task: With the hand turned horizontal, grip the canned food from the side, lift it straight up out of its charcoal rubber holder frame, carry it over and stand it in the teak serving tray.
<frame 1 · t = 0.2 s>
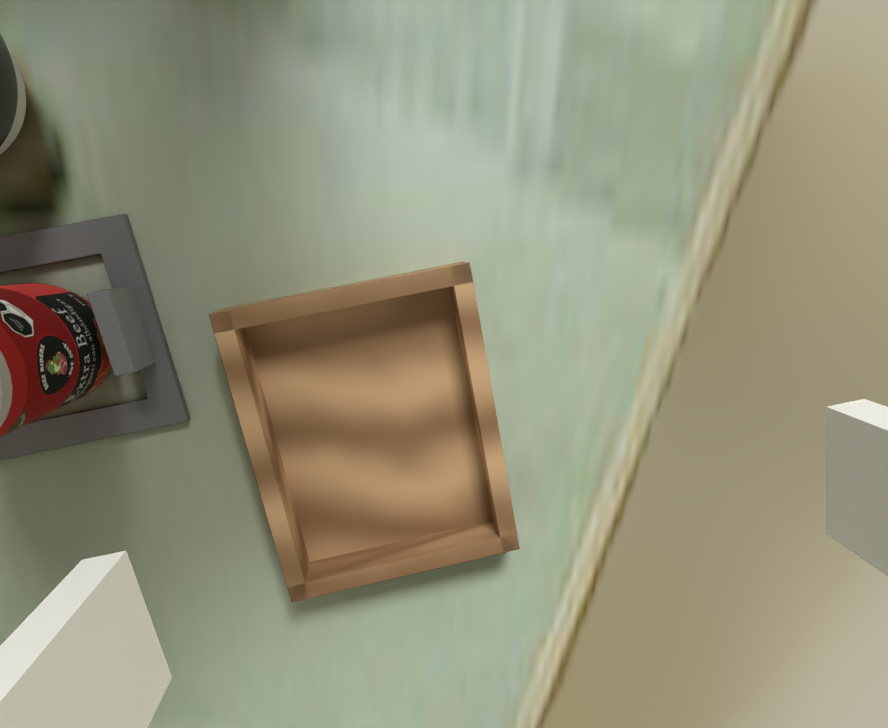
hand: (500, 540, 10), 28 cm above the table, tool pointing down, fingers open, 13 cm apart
tray: (377, 424, 38), on the table
holder: (53, 342, 34), on the table
canned food: (55, 341, 35), resting in holder
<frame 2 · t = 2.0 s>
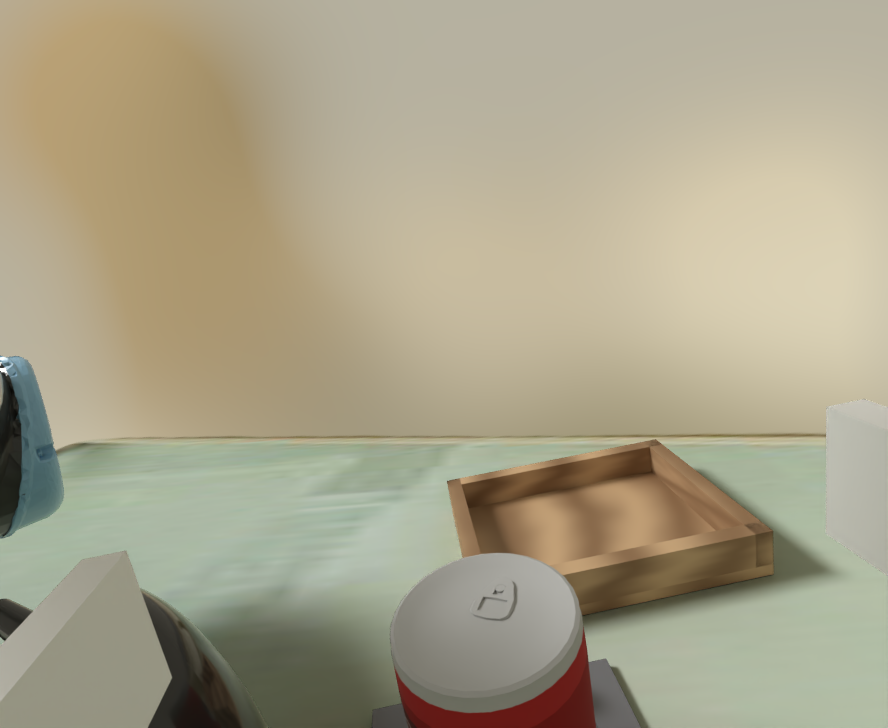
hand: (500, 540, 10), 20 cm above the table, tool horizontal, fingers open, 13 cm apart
tray: (586, 538, 43), on the table
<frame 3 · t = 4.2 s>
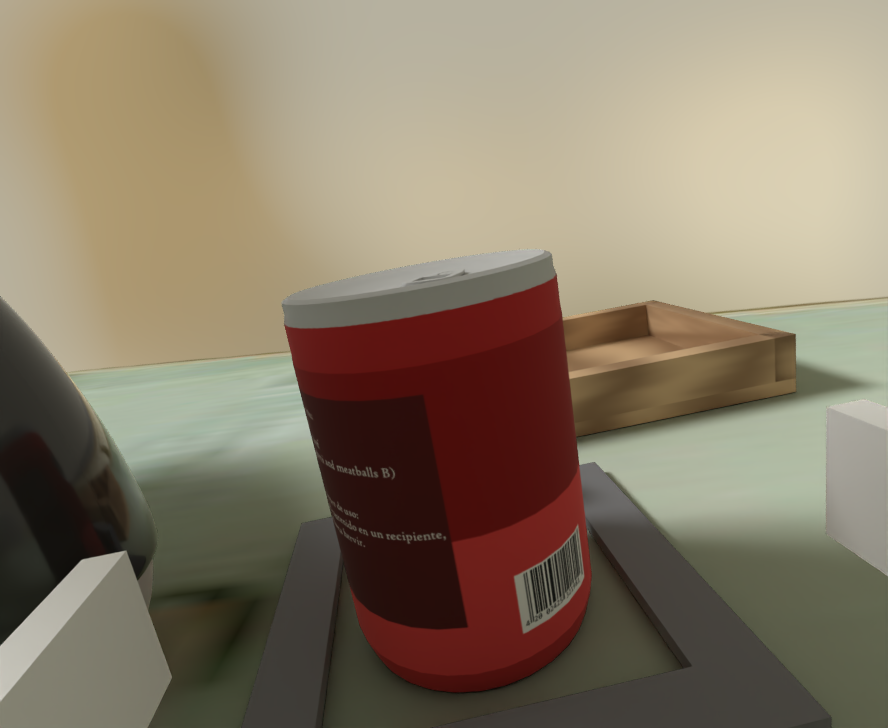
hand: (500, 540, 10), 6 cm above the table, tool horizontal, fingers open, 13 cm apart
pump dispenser: (17, 707, 17), on the table
tray: (573, 387, 37), on the table
holder: (477, 599, 18), on the table
canned food: (478, 605, 18), resting in holder
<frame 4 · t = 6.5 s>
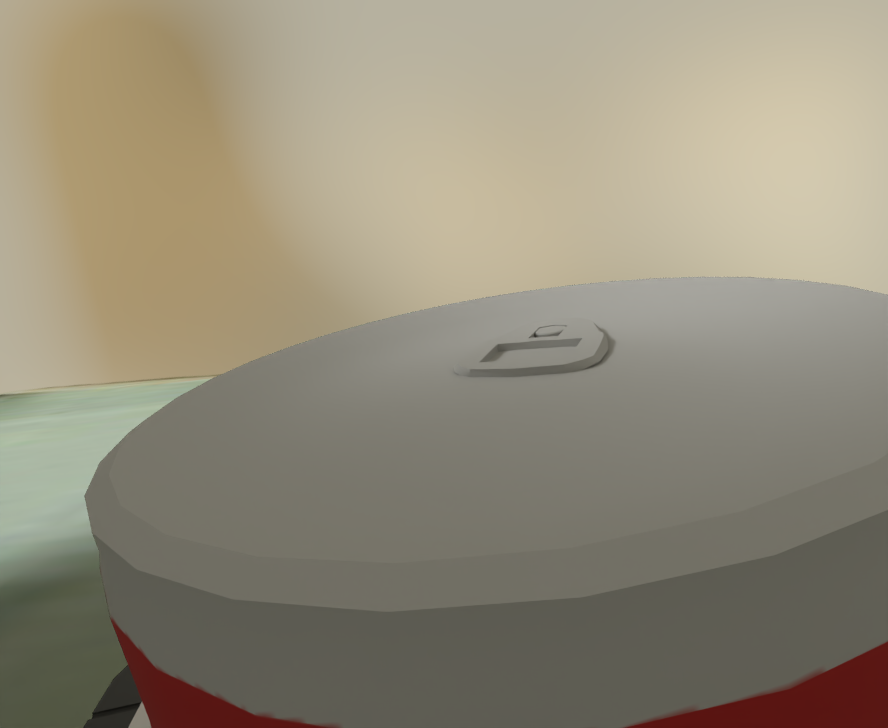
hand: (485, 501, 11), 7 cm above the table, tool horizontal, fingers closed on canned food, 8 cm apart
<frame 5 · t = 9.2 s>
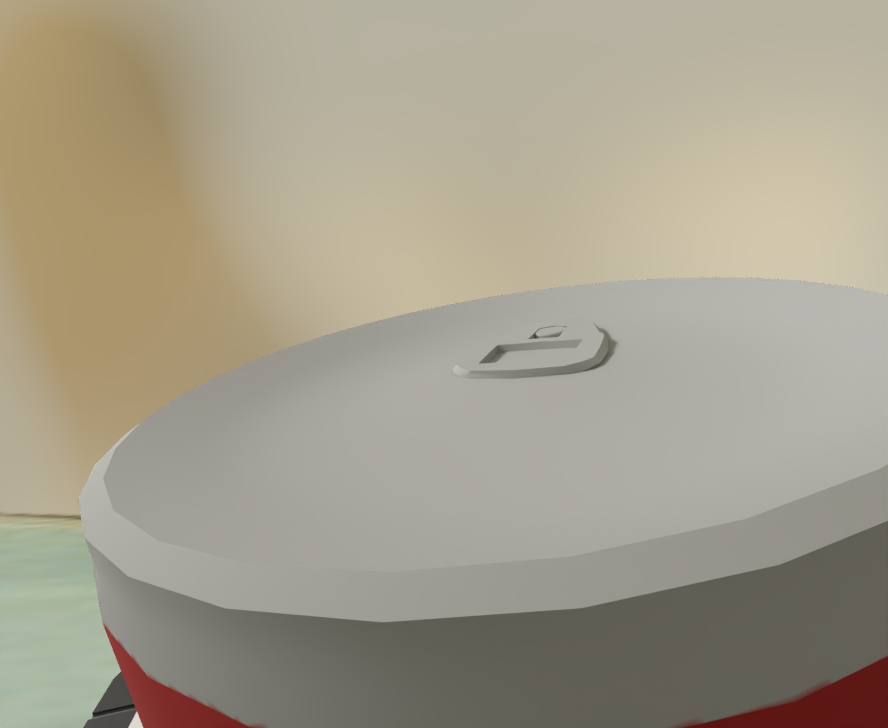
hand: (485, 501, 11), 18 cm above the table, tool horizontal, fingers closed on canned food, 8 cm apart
when the fingers open (9 cm above the table, at t = 11.9 s): canned food drops 2 cm, resting on tray.
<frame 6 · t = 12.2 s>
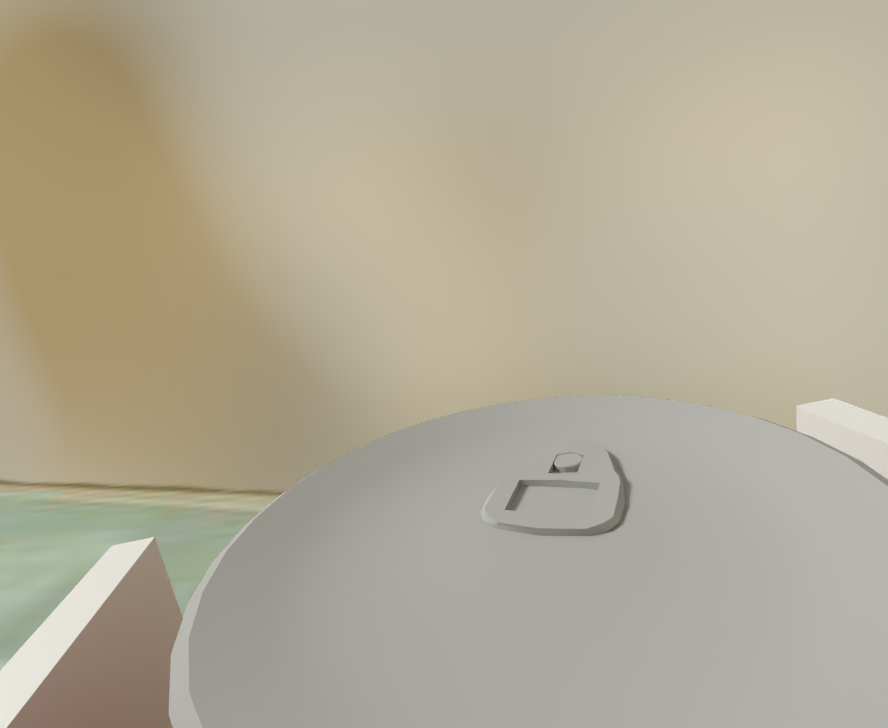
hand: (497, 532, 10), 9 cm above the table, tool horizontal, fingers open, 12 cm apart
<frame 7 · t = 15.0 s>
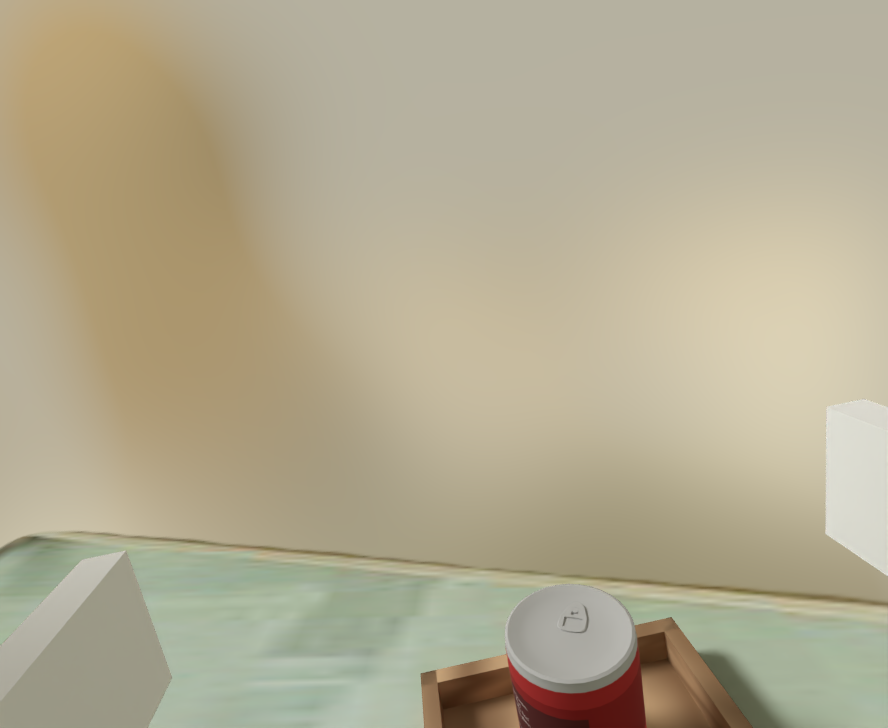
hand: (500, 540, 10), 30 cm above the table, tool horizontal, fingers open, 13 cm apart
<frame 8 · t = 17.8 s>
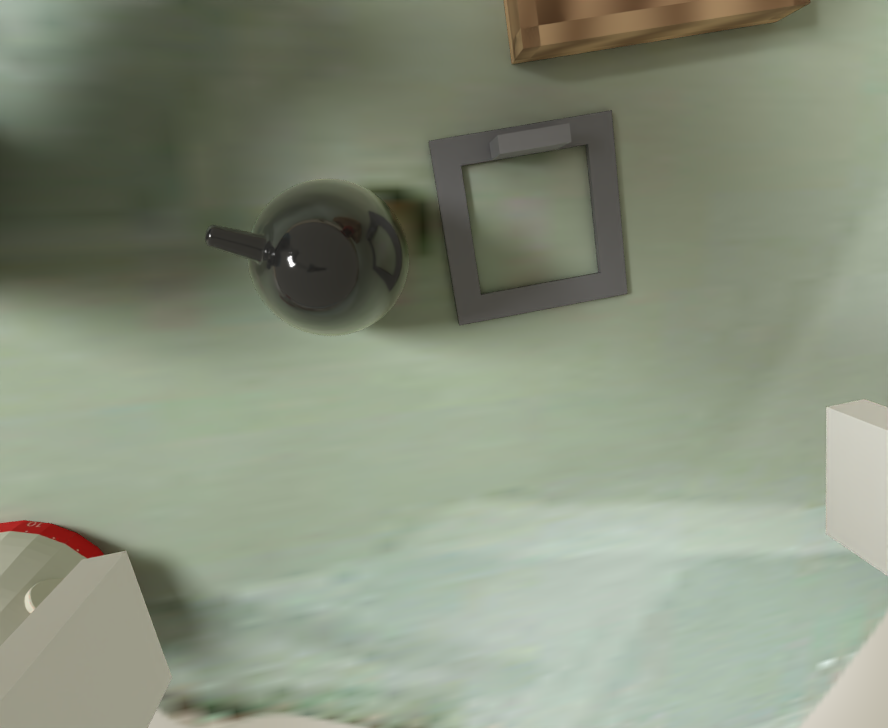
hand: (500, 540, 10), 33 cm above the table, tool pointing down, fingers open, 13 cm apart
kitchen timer: (36, 595, 44), on the table
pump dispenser: (337, 255, 40), on the table
holder: (531, 221, 41), on the table
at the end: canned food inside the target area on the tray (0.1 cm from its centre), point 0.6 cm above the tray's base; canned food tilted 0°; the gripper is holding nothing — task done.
